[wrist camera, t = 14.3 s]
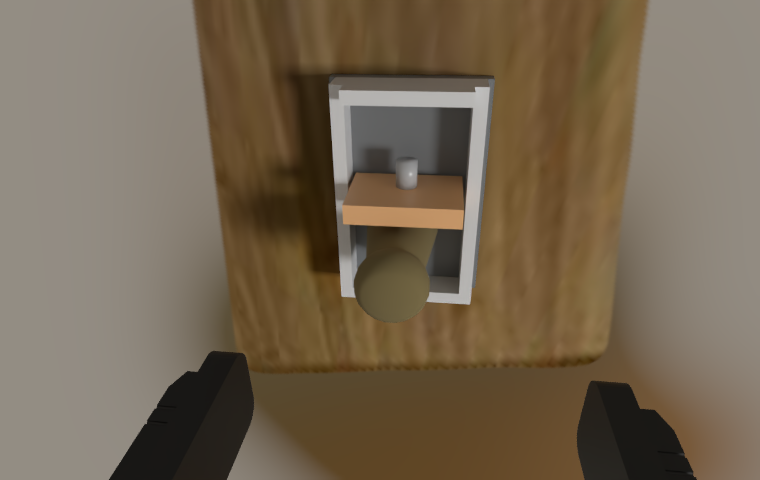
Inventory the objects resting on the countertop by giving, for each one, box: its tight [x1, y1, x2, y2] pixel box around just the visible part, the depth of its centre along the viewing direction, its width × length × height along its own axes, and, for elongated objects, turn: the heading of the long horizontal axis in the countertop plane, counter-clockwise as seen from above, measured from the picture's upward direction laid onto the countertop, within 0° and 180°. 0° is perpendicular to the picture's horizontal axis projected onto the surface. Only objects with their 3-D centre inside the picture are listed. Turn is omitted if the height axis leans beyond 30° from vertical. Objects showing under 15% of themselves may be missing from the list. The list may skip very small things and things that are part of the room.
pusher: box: [342, 157, 464, 230], centre depth 37 cm, size 4×8×6 cm, turn 91°
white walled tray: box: [328, 74, 495, 304], centre depth 40 cm, size 18×12×5 cm, turn 1°
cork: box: [354, 225, 438, 323], centre depth 38 cm, size 6×6×11 cm
